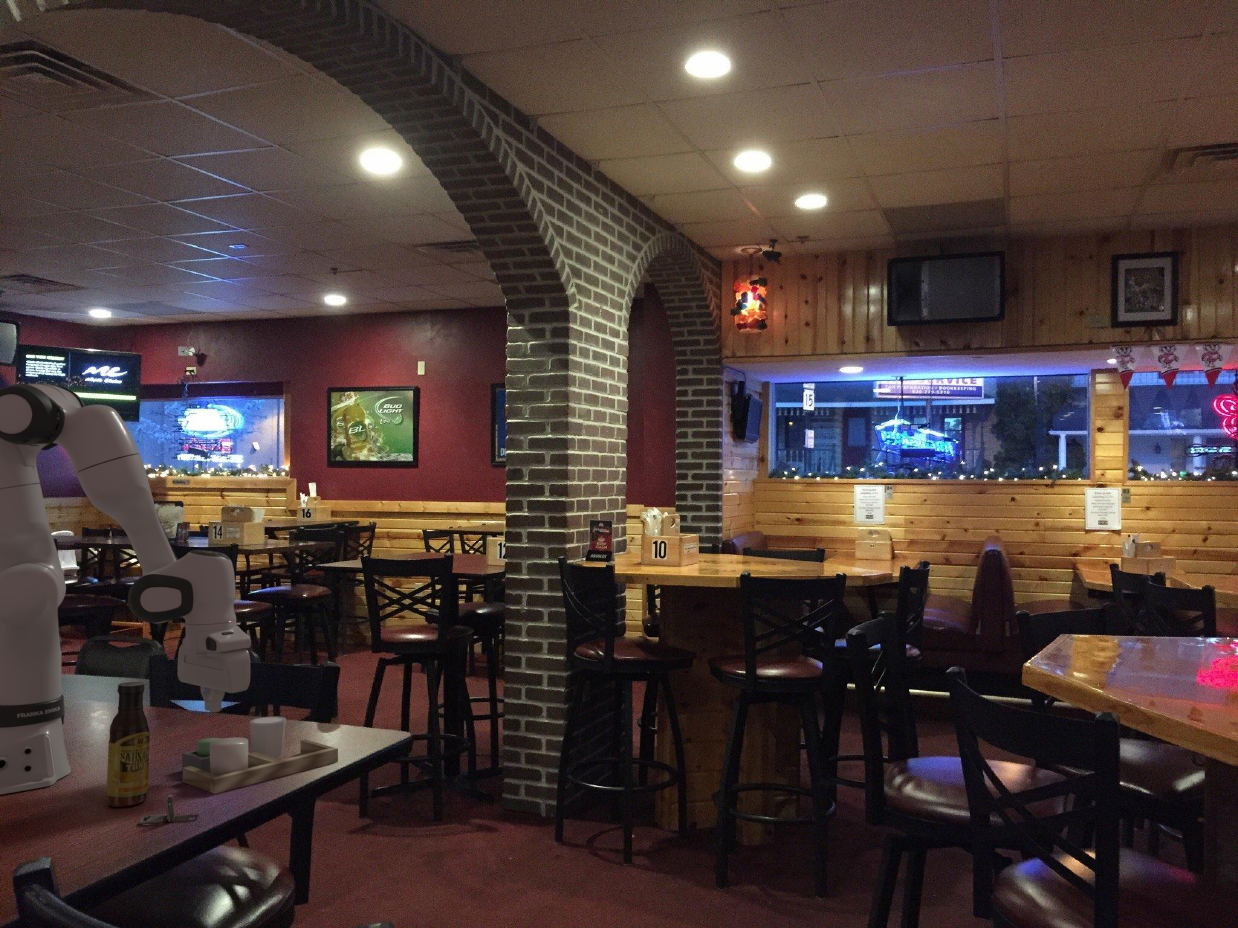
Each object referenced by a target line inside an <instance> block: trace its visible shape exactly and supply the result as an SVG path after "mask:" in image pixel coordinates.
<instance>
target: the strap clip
mask: <svg viewBox="0 0 1238 928" xmlns="http://www.w3.org/2000/svg"><path fill="white" fill-rule="evenodd" d="M174 810H175V809H174V804H173V794H168V796H167V797H166V799H165V811H166V813H164V814H163V813H162V814H150V815H146V816H142V817H141V818H140V820H139V822H138V826H139V825H143V824H158V825H162V824H161V823H163V824H166V823H165V821H166V820H167V821H166V822H168V823H171V822H173V823H172V824H181V822H184V823H192V822H193V821H194V822H197V821H198V819H199V816H200V814H186V815H185V814H184V815H175V812H174ZM191 817H195V818H194V819H191ZM167 818H168V819H167ZM147 819H149V820H147ZM143 820H146V821H143ZM179 822H180V823H179Z"/></svg>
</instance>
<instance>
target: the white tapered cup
mask: <svg viewBox="0 0 1238 928" xmlns="http://www.w3.org/2000/svg"><path fill="white" fill-rule="evenodd" d="M286 723H287V718H286V717H284V716H278V715H277V716H275V715H273V716H272V715H271V716H262V717H256V718H254V719H251V720H249V732H250V742H251V752H253V751H255V752H259V753H262V754H265V755H268V756H272V757H275V758H277V757H278V758H280V757H282V756H283V755H284V745H285V736H286V735H285V734H286V727H287V726H286V725H287V724H286Z"/></svg>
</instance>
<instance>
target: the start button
mask: <svg viewBox="0 0 1238 928" xmlns="http://www.w3.org/2000/svg"><path fill="white" fill-rule="evenodd" d="M219 739H222V738H220V737H209V738H208V737H207V738H203V739H202V738H201V739H199V740H198V741H196V750H197V755H198V756H201V757H208V756H210V743H211V742H213V741H215V740H219Z"/></svg>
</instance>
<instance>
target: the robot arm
mask: <svg viewBox="0 0 1238 928" xmlns="http://www.w3.org/2000/svg"><path fill="white" fill-rule="evenodd" d="M122 418H123V417H121V415H120V413H119V412H118V411H117V410H116V409H115V408H113V407H111V406H109V405H104V404H90V405H86V404H85V402H84V400H83V399H82V398H81V397H80V395H78V394H77V393H76V392H74V391H73V390H71V389H69V388H67V387H64V386H60V385H52V384H48V383H40V382H39V383H30V384H26V383H17V384H11V385H8V386H4V387H2V388H0V795H5V794H11V793H17V792H22V791H23V792H24V791H30V790H34V789H39V788H46V787H49V786H53V785H54V784H55V783H56V782H57V781H58V780H60V779H61V778H65V776H68V774H70V773H71V771H72V768H71V765H70V762H69V759H68V755H67V751H66V746H65V745H66V744H65V740H64V739H65V738H64V731H63V726H64V723H65V715H66V711H65V710H66V709H65V708H66V707H65V706H66V705H65V697H64V695H63V694H62V656H63V655H62V648H61V641H60V631H59V616H58V615H59V613H58V611H59V606H61V604H62V602H63V601H64V600H65V599H64V598H65V595H66V590H67V584H66V581H65V576H64V573H63V568H62V565H61V561H60V557H59V554H58V550H57V547H56V543H55V540H54V538H53V535H52V532H51V528H50V524H49V520H48V515H47V510H46V506H45V501H44V496H43V491H42V486H41V482H40V477H39V473H38V468H37V456H38V455H39V452H40V451H41V450H42V451H49V450H50V449H52V448H55V447H56V446H60V447H62V448H63V449H64V450H65V451H66V453H67V455H68V456H69V459H70V461H71V464H72V466H73V469H74V472H75V474H76V477H77V480H78V482H79V484H80V487H81V488H82V491H83V492H84V493H85V495H86V497H87V499H88V500H89V502H90V503H91V505H92V506H93V507H94V508H95V509H96V510H97V511H100V512H102V513H103V514H105V515H107V516H109V518H111V519H112V520H114V521H115V522H116V523H118V525H120V527H121V528H122V529H123V530H124V532H125V534H126V535H127V537H128V540H129V542H130V545H131V547H132V549H133V552H134V553H135V556H136V558H137V560H138V563H139V564H140V567H141V570H142V576H140V577H138V579H136V580H135V581H134V582H133V583H132V585H131V586H130V588H129V590H128V593H127V604H128V608H129V610H130V611H131V613H132V614H133V616H135V618H137V619H138V620H140V621H141V622H145V623H149V624H162V623H166V622H169V621H172V620H175V619H181V618H182V619H184V620H185V624H184V625H185V636H184V638H183V639H182V644H181V645H180V646H179V649H178V653H177V654H178V655H177V678H178V680H179V681H180V682H181V683H186V684H188V685H194V686H198V687H200V694H201V696H202V699H203V702H204V710H205V711H207V712H208V711H209V712H212V713H217V712H220V711H222V708H223V707H222V701H223V700H224V696H225V694H226V693H227V694H228V693H230V694H235V693H240V692H241V693H242V692H244V691H247V690H248V689H249V686H250V682H251V657H250V652H249V651H248V649H249V648H251V645H252V644H251V643H252V640H251V637H250V635H248V634H247V633H246V632H244V631H243V630H242V629H241V628H240V626H238V625H237V615H236V612H235V607H234V606H235V605H234V604H235V601H236V596H237V595H236V594H237V593H236V578H235V570H234V565H233V562H232V560H231V557H229V556H228V555H226V554H225V553H223V552H219V551H214V550H205V549H202V550H201V549H195V550H190V551H189V552H188V553H186V554H185V555H184V556H182V557H181V558H178V557H177V556H176V554H175V552H174V549H173V548H172V544H171V542H170V540H169V538H168V535H167V533H166V531H165V529H164V526H163V524H162V521H161V519H160V517H159V514H158V512H157V509H156V505H155V502H154V498H153V495H152V490H151V486H150V482H149V477H148V474H147V471H146V467H145V464H144V462H143V459H142V456H141V454H140V451H139V448H138V446H137V443H136V442H135V440H134V438H133V436H132V434H131V431H130V430H129V427H128V426H127V425H126V423H125V421H124V419H122Z"/></svg>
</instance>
